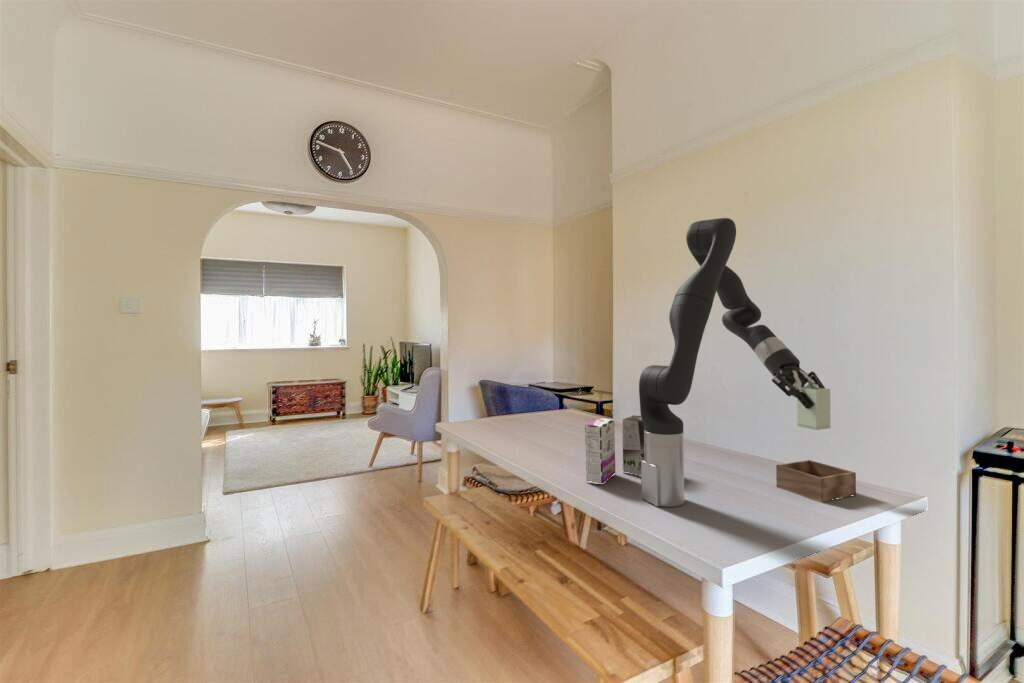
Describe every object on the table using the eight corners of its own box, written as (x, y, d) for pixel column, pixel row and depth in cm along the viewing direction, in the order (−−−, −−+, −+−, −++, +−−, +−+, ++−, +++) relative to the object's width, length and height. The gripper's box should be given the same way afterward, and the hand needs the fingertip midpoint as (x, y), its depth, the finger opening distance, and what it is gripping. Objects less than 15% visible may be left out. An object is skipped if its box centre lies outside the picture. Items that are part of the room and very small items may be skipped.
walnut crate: (821, 502, 105) (821, 478, 105) (776, 486, 116) (776, 464, 116) (855, 495, 109) (855, 472, 109) (809, 481, 120) (808, 459, 120)
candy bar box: (599, 472, 131) (598, 417, 131) (616, 474, 129) (615, 419, 128) (585, 483, 122) (584, 424, 122) (602, 486, 119) (601, 426, 119)
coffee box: (643, 477, 126) (642, 421, 126) (622, 473, 130) (621, 419, 130) (654, 469, 133) (653, 416, 133) (634, 465, 137) (633, 414, 137)
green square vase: (816, 430, 109) (816, 390, 109) (797, 426, 114) (797, 387, 114) (830, 428, 111) (830, 388, 111) (811, 424, 116) (810, 386, 116)
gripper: (765, 348, 117) (808, 399, 106) (803, 346, 122) (849, 395, 111) (748, 366, 123) (788, 417, 111) (786, 364, 127) (828, 412, 116)
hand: (818, 405), depth 111 cm, fingers closed on green square vase, 5 cm apart
